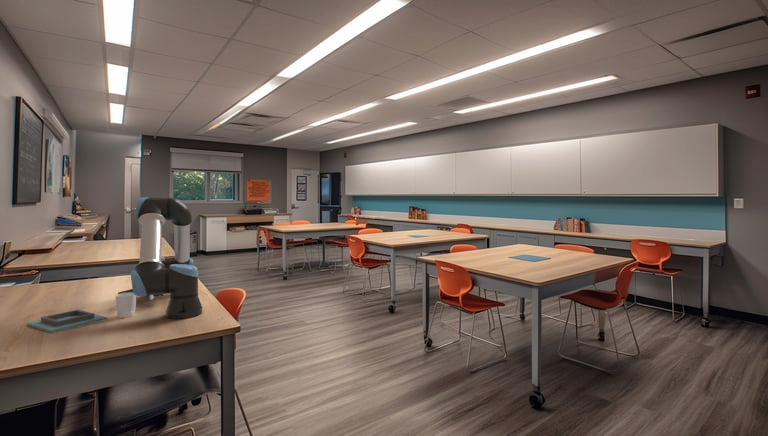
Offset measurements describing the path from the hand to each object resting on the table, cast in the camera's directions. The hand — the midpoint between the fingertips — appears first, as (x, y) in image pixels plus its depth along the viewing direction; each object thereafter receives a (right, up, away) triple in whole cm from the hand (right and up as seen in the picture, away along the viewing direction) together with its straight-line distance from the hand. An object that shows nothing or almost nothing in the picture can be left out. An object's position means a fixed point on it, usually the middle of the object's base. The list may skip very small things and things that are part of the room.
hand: (134, 297), depth 181 cm
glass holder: (-16, -6, -19) cm, 26 cm away
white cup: (+2, -7, -9) cm, 12 cm away
